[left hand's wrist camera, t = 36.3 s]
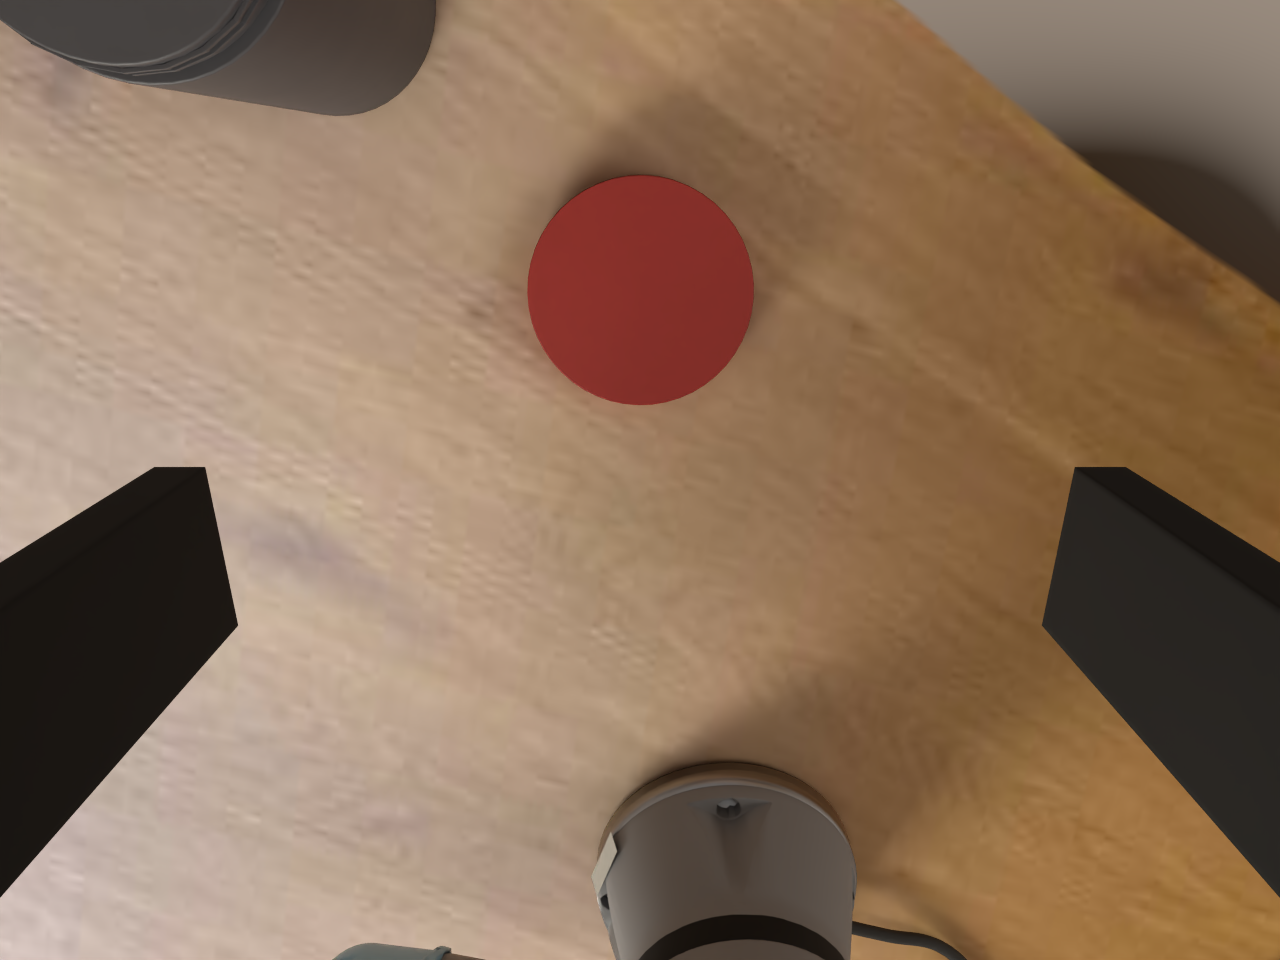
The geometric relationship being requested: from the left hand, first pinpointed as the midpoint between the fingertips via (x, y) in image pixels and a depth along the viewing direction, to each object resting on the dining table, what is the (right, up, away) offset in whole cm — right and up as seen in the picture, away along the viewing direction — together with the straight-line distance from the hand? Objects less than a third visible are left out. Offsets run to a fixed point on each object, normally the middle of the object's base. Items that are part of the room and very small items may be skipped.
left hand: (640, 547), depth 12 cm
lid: (0, +9, +23) cm, 25 cm away
